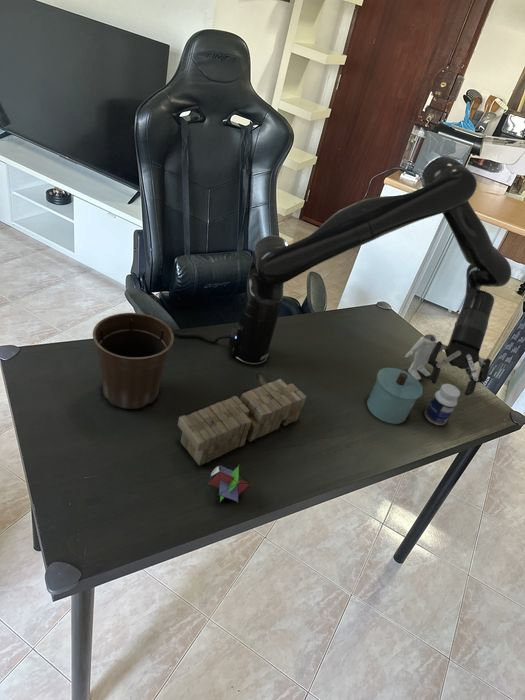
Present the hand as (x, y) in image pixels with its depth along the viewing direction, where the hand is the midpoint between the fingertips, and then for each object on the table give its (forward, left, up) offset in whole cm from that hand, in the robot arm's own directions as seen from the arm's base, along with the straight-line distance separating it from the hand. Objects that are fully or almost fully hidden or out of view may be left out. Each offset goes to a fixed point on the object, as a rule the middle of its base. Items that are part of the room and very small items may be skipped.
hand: (450, 388), depth 121 cm
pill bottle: (0, -1, -10) cm, 10 cm away
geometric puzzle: (-51, -36, -10) cm, 64 cm away
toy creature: (-1, +18, -10) cm, 20 cm away
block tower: (-50, -19, -9) cm, 55 cm away
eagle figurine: (-45, -7, -10) cm, 47 cm away
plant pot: (-76, -13, -10) cm, 78 cm away
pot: (-13, -1, -9) cm, 16 cm away
